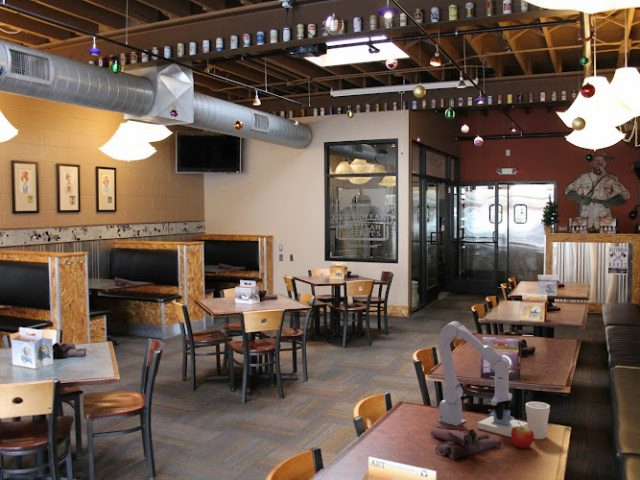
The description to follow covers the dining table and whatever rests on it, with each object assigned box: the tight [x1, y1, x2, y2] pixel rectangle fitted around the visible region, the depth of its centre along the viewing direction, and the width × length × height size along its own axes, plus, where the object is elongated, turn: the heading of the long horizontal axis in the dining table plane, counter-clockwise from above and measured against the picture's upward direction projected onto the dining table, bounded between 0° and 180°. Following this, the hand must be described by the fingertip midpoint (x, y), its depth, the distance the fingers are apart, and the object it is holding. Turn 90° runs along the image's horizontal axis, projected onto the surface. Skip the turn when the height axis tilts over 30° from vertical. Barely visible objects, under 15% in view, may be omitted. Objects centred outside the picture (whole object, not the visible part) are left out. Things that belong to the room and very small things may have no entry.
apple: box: [510, 422, 535, 449], centre depth 248 cm, size 8×8×10 cm
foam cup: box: [525, 401, 551, 440], centre depth 260 cm, size 10×9×13 cm
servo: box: [487, 409, 516, 425], centre depth 269 cm, size 12×3×6 cm, turn 45°
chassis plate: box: [477, 415, 528, 438], centre depth 270 cm, size 16×14×2 cm
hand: (501, 418), depth 269 cm, fingers closed on servo, 3 cm apart
